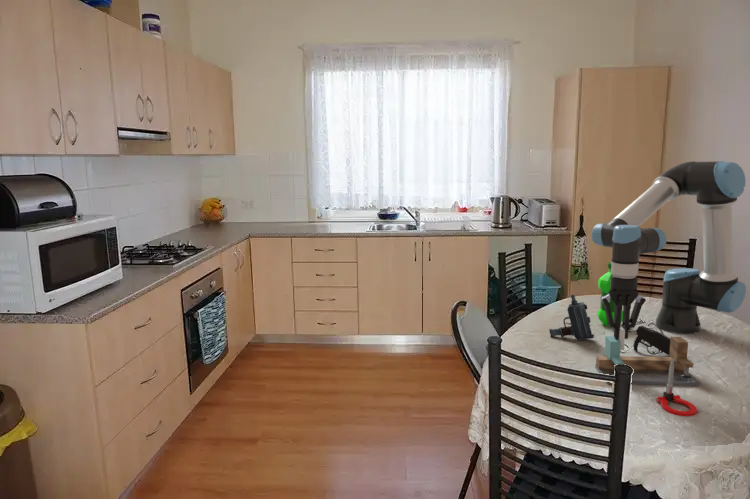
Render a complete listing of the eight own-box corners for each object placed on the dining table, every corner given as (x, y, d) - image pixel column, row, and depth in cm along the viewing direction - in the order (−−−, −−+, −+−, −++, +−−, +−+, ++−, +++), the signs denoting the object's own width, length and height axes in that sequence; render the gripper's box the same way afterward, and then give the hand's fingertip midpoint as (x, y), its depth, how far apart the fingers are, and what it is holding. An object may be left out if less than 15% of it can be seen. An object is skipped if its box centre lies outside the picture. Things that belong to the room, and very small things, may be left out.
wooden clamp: (680, 364, 167) (682, 336, 165) (695, 378, 157) (698, 348, 155) (595, 363, 170) (596, 335, 168) (604, 376, 160) (606, 347, 158)
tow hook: (704, 416, 139) (679, 398, 148) (709, 371, 136) (684, 356, 145) (674, 419, 138) (652, 401, 147) (679, 374, 135) (656, 358, 144)
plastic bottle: (620, 320, 214) (623, 260, 209) (627, 329, 203) (631, 266, 199) (594, 320, 215) (596, 260, 211) (600, 328, 205) (603, 266, 201)
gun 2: (671, 374, 176) (689, 351, 172) (625, 345, 182) (641, 323, 178) (671, 371, 178) (689, 348, 174) (626, 343, 185) (642, 320, 181)
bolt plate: (680, 369, 167) (681, 364, 166) (699, 385, 155) (699, 381, 155) (595, 367, 170) (595, 363, 169) (607, 383, 158) (607, 379, 158)
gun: (542, 299, 199) (583, 292, 193) (553, 341, 200) (594, 335, 194) (541, 301, 197) (583, 294, 190) (552, 343, 198) (594, 338, 191)
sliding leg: (613, 363, 169) (615, 336, 167) (624, 376, 159) (626, 347, 158) (604, 363, 169) (605, 336, 168) (614, 376, 160) (616, 347, 158)
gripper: (641, 272, 164) (637, 344, 168) (598, 272, 165) (594, 343, 170) (651, 278, 157) (646, 353, 161) (606, 278, 158) (602, 352, 162)
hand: (620, 348), depth 165 cm, fingers closed
